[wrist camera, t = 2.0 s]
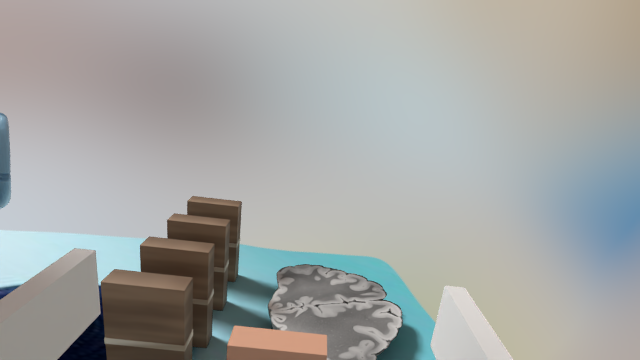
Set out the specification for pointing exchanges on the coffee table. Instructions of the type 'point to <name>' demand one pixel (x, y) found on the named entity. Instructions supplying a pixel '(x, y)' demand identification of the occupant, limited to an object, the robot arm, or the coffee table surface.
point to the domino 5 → (275, 345)
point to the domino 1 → (147, 316)
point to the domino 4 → (187, 263)
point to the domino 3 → (207, 233)
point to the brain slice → (335, 310)
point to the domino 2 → (221, 211)
